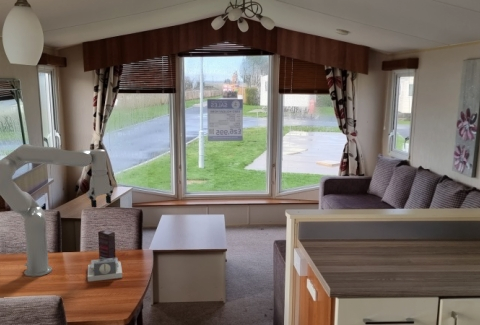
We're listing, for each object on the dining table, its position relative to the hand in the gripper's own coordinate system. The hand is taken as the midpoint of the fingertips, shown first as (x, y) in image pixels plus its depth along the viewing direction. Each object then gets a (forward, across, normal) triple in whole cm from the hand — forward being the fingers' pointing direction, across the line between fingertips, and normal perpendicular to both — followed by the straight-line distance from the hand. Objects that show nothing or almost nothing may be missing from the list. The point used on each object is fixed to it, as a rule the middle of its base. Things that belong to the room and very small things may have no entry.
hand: (101, 205), depth 229 cm
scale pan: (+28, +9, +11) cm, 31 cm away
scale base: (+32, +10, +12) cm, 35 cm away
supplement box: (+32, -3, -2) cm, 32 cm away
